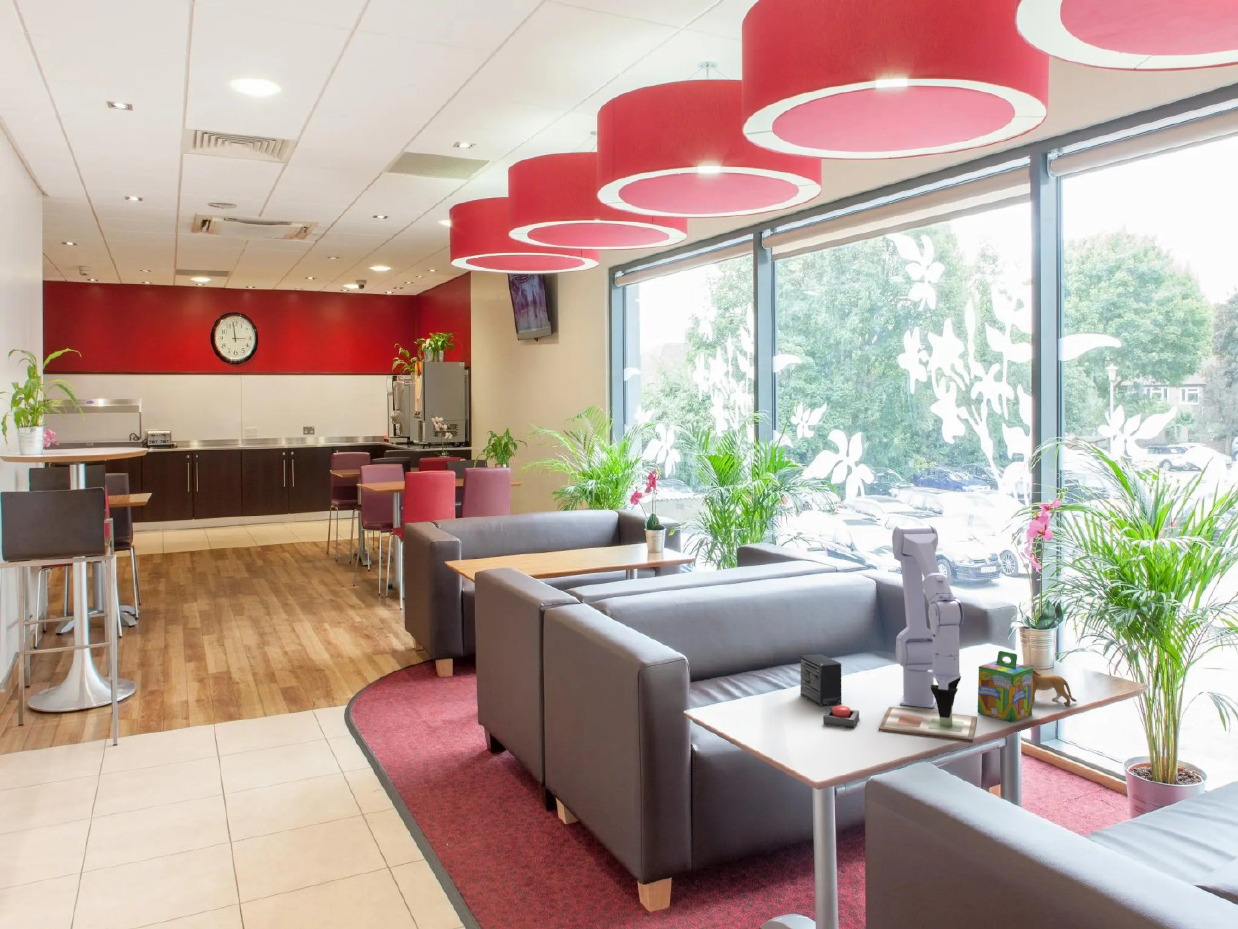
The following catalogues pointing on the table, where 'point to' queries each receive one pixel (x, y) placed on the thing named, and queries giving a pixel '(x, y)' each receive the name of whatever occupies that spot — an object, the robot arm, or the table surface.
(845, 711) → the button
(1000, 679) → the chalk box
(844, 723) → the button housing
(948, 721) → the sage marker
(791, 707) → the table surface
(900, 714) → the framed sorting board
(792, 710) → the table surface
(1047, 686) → the lion figurine
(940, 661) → the robot arm
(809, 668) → the small box
